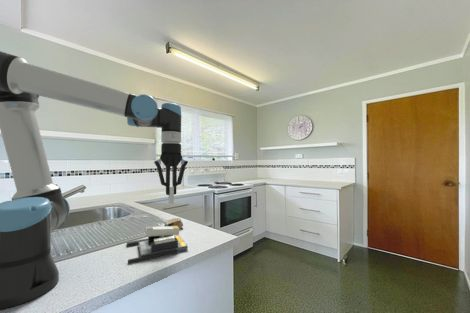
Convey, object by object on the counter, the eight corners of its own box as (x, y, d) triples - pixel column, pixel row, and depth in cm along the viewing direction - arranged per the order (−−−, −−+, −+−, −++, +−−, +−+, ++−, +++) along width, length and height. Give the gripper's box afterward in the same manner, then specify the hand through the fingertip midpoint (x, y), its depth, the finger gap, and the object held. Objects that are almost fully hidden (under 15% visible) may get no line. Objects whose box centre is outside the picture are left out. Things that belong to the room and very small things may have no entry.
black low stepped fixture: (127, 263, 70) (127, 260, 70) (126, 244, 86) (126, 241, 86) (182, 252, 78) (182, 249, 78) (172, 236, 94) (172, 234, 94)
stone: (165, 232, 101) (165, 222, 101) (164, 225, 111) (164, 216, 111) (183, 230, 104) (183, 220, 104) (181, 223, 113) (181, 215, 113)
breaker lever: (145, 236, 78) (146, 229, 78) (144, 233, 81) (145, 226, 81) (178, 235, 83) (179, 228, 84) (176, 232, 86) (177, 225, 87)
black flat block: (141, 259, 73) (141, 244, 73) (138, 246, 84) (138, 232, 84) (187, 250, 80) (187, 236, 80) (179, 238, 92) (179, 226, 92)
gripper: (155, 142, 78) (154, 206, 78) (190, 143, 84) (189, 203, 84) (152, 143, 85) (152, 202, 85) (185, 144, 91) (185, 199, 91)
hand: (171, 202), depth 85 cm, fingers closed
